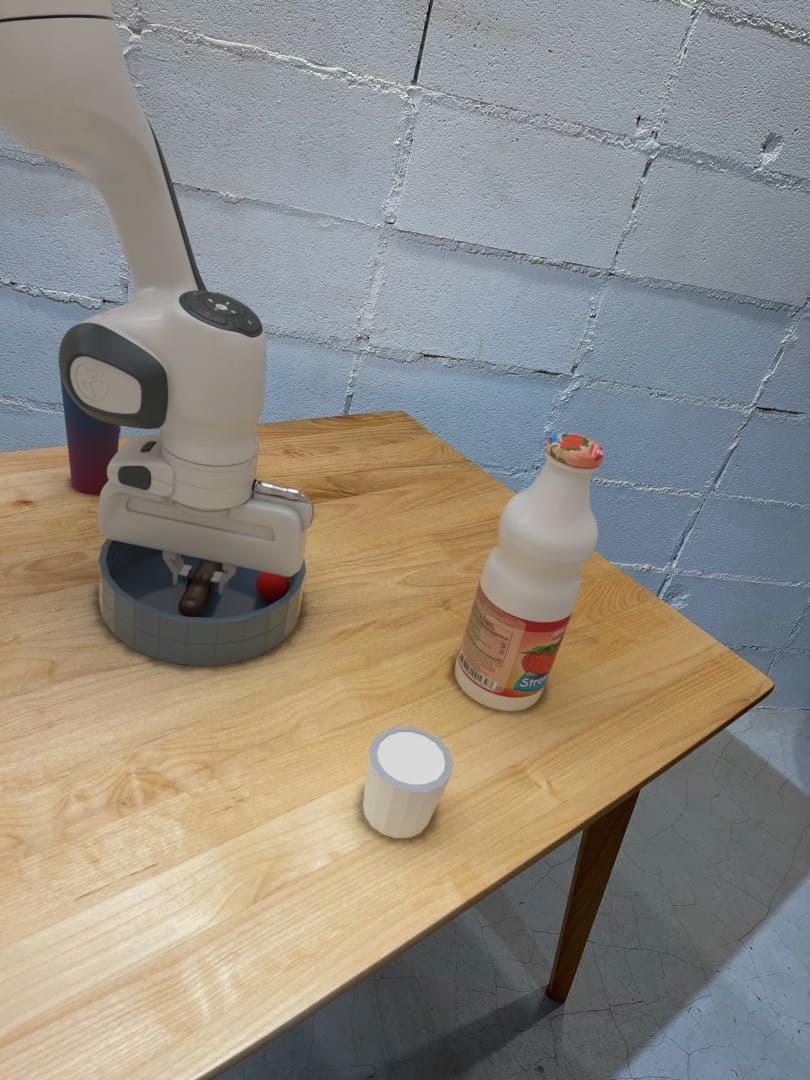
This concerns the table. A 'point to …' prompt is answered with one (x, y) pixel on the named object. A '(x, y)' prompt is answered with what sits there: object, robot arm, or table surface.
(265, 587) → the tomato
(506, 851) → the table surface
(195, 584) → the brown bar
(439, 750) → the shot glass
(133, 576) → the bowl
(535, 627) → the fruit juice
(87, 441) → the cup
